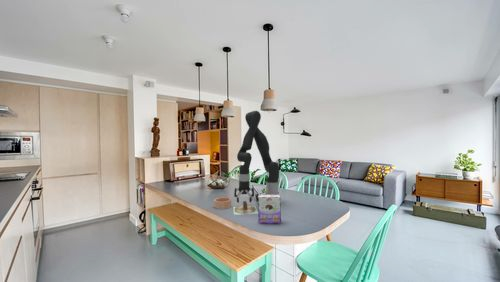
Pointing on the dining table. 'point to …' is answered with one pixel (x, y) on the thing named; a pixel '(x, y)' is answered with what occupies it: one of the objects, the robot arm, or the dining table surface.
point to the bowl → (222, 203)
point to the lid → (245, 208)
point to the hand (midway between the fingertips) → (244, 202)
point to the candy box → (269, 209)
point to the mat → (241, 213)
